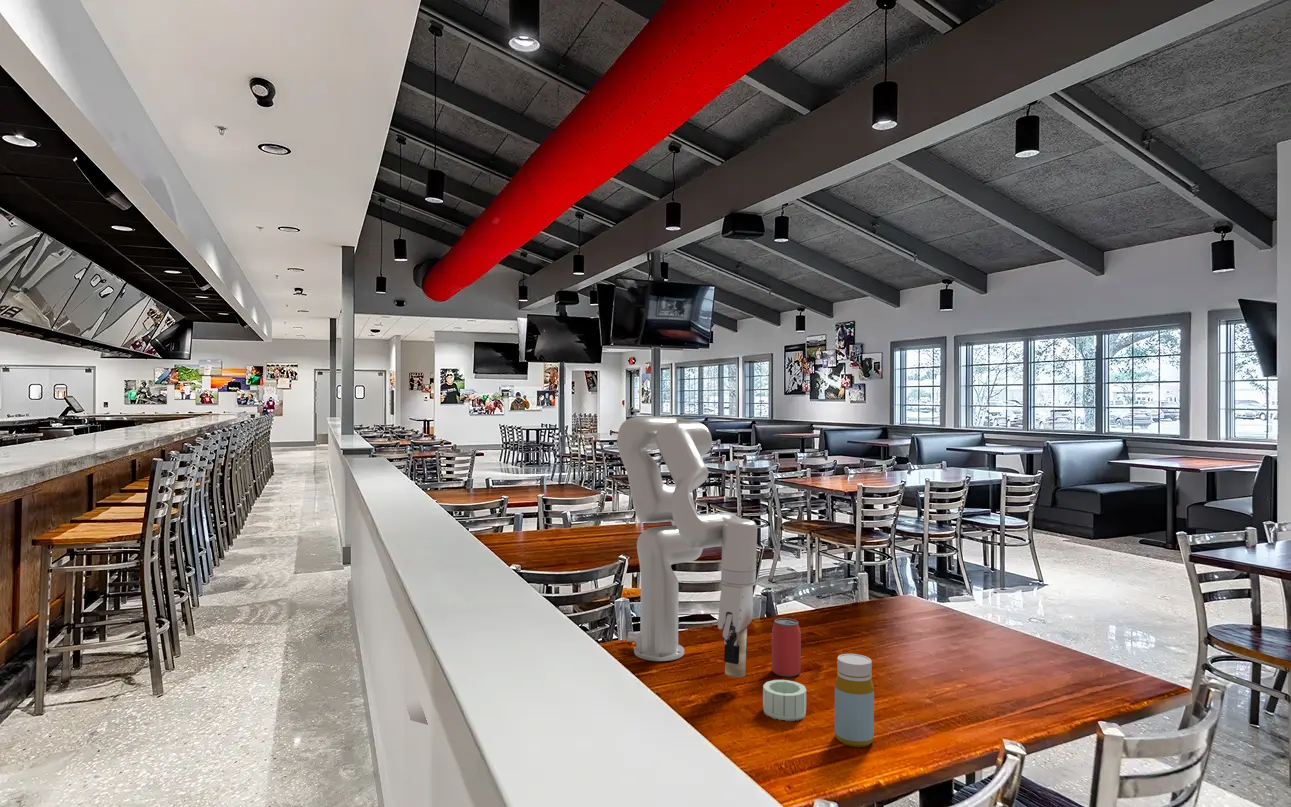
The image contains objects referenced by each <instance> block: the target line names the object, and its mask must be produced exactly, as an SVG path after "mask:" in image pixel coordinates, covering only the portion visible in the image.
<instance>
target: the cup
mask: <svg viewBox="0 0 1291 807" xmlns="http://www.w3.org/2000/svg"><path fill="white" fill-rule="evenodd" d="M762 706H763V714H764V715H766V716H767V717H768V716H769V718H770V717H771V719H773V720H776V719H778V720H777V721H781V720H785V721H784V722H793V721H794V722H795V720H796V721H799V720H802V719H804V718H805V717H806V716H807V715H806V714H807V712H806V711H807V688H806V686H805V685H804V684H802V683H799V682H797V681H794V680H788V679H773V680H770V681H769V680H768V681H766V682H765V683H764V684H763V685H762Z"/></svg>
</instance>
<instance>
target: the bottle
mask: <svg viewBox="0 0 1291 807" xmlns="http://www.w3.org/2000/svg"><path fill="white" fill-rule="evenodd" d="M872 663H873V660H872V659H871V658H870V657H868V656H866V655H862V654H858V653H843V654H839V655H838V656H837V661H836V666H837V667H836V668H837V675H836V678H835V681H834V736H835V738H836V739H837V740H838V741H839V743H841V744H843V745H845V746H849V747H852V748H853V747H854V748H864V747H868V746H870V745H871V744H872V743H873V742H874V736H875V734H874V733H875V732H874V731H875V711H874V710H875V689H874V688H875V687H874V686H875V685H874V681H873V680H872V675H873V674H872V670H873V669H872V667H873V664H872Z"/></svg>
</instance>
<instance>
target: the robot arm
mask: <svg viewBox="0 0 1291 807" xmlns="http://www.w3.org/2000/svg"><path fill="white" fill-rule="evenodd" d="M616 439H617V440H616V441H617V444H616V445H617V449H618V453H619V456H620V459H621V461H622V464H623V466H624V468H625V471H626V474H627V475H626V476H627V478H628V484H629V488H630V493H631V498H632V503H633V506H634V507H633V508H634V511H635V514H636V516H637V518H638V520H639V521H640V522H642V523H645V524H654V523H665V522H666V523H667V522H671V525H663V526H655V527H650V528H647V529H646V530H644V531H643V532H641V533H640V534H639V536H638V538H637V541H636V550H637V556H638V557H637V558H638V562H639V571H640V572H639V573H640V574H639V575H640V619H639V620H640V626H639V628H640V629H639V630H640V631H639V632H635V631H628V632H627V642H630V643H634V644H636V646H634V649H633V653H634V655H635V656H636V657H637V658H640V659H642V660H644V661H645V660H646V661H652V662H668V661H675V660H678V659H681V658H682V657H683V656H684V655H685V648H684V647H683V646H682V645H681V644H679V592H680V591H679V581H678V578H677V575H676V573H675V571H674V570H673V569H672V565H675V564H682V563H683V564H684V563H689V562H690V563H691V562H692V561H693V562H694V561H696V560H697V559H698V558H700V556H702V553H703V550H704V549H711V548H715V547H716V548H718V547H719V548H720V547H721V571H720V572H721V573H720V582H721V584H722V585H721V590H720V596H719V607H718V618H717V619H718V620H717V628H718V629H719V630H721V631H722V637H723V638H724V640H723V641H724V653H723V655H724V656H723V657H724V658H723V659H724V662H728V663H732V664H738V663H739V648H740V646H739V645H738V639H739V632H740V631H741V630H743V629H744V628H745V627H746V628H747V638H746V657H747V656H748V636H749V625H750V624H751V622H752V621H753V614H754V613H753V612H754V592H753V591H754V586H756V581H757V580H756V577H757V548H758V524H757V523H756V522H755V521H754V520H751V519H748V518H742V517H739V516H738V515H736V514H734V513H730V512H726V511H725V512H710V513H701V514H698V513H697V508H696V503H695V502H694V498H693V495H692V493H691V492H693V491H694V490H695V489H697V488H699V487H700V486H701V485H702V484H704V483H705V481H706V480H707V479H708V477H709V469H708V467H707V465H706V463H705V460H703V457H702V456H705V455H706V454H708V453H709V452H710V450H711V449H712V444H713V439H712V434H711V431H710V430H709V429H708V427H707V426H706V425H705V424H703V423H701V422H700V421H695V420H690V419H686V418H682V417H679V416H647V415H646V416H633V417H631V418H628V419H626V420H624V421H623V422H622V423H621V425H620V427H619V428H618V432H617V438H616ZM648 450H659V452H660V454H661V456H662V459H663V461H664V464H666V465H665V466H666V467H667V470H668V472H669V473H670V476H671V478H672V480H673V482H674V484H665V483H664V481H663V477H662V473H661V470H660V466H659V465H658V463H657V462H656V460H655V459H654V457H652V456H651V454H649V453H648V452H647V451H648ZM732 627H733V628H735V630H731V628H732ZM731 633H733V634H735V639H734V636H733V635H731Z"/></svg>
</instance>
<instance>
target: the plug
mask: <svg viewBox="0 0 1291 807" xmlns="http://www.w3.org/2000/svg"><path fill="white" fill-rule="evenodd" d="M731 630H735V628H733V627H732V628H731ZM731 635H733V636H734V639H735V634H733V633H731ZM746 638H747V639H748V637H747V628H746V627H745V628H744V629H743V630H741V631H740V632H739V639H738V645H739V646H740V648H739V663H738V664H732V663H728V662H725V661H724V662H725V664H724V665H725V666H724V674H725V675H726V676H728V677H730V678H743V677H745V676H746V664H747V662H746V660H747V656H746Z"/></svg>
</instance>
